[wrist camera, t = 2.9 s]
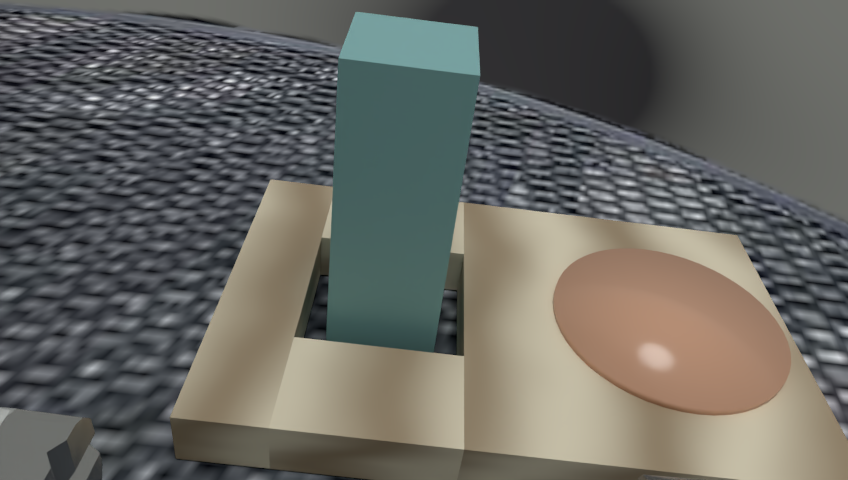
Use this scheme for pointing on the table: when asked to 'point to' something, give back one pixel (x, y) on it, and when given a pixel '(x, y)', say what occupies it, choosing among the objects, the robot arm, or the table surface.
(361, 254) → the peg
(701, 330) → the tan flat disc
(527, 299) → the pocket board
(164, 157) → the table surface
